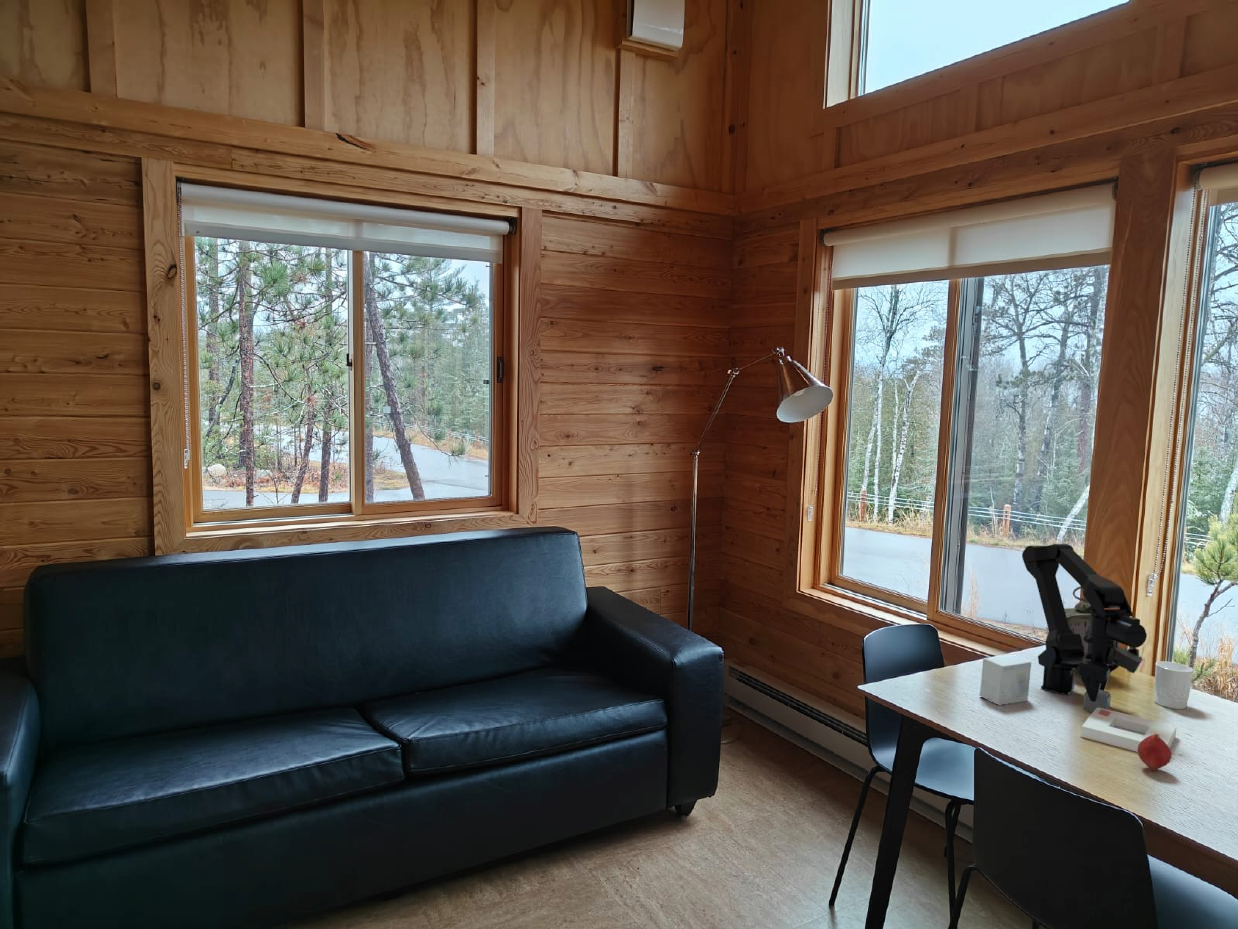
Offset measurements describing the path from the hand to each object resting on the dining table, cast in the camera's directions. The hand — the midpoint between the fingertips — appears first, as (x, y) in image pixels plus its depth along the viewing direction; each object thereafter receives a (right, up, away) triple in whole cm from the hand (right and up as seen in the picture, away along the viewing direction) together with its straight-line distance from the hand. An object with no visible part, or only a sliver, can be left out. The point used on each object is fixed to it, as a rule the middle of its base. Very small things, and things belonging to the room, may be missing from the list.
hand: (1097, 696), depth 201 cm
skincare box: (-20, -3, +6) cm, 21 cm away
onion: (-7, -6, -32) cm, 33 cm away
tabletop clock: (+12, -2, +29) cm, 31 cm away
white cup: (+22, -4, +6) cm, 23 cm away
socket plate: (-2, -5, -15) cm, 16 cm away
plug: (0, -4, 0) cm, 4 cm away
